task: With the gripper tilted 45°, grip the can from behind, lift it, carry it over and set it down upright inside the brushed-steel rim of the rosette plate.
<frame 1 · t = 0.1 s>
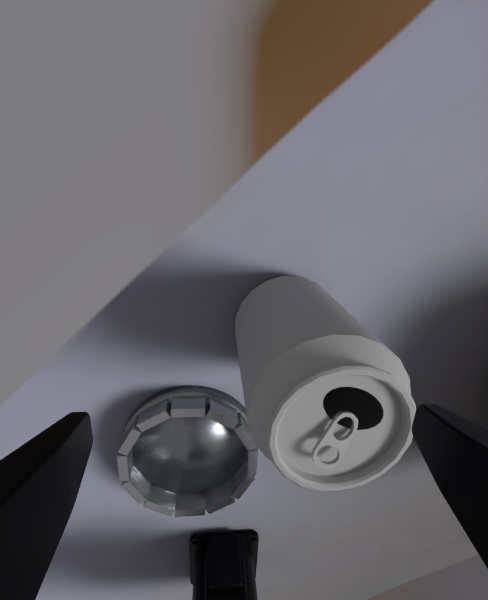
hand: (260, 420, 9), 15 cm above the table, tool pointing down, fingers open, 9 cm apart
can: (282, 319, 24), on the table
rosette plate: (191, 441, 27), on the table
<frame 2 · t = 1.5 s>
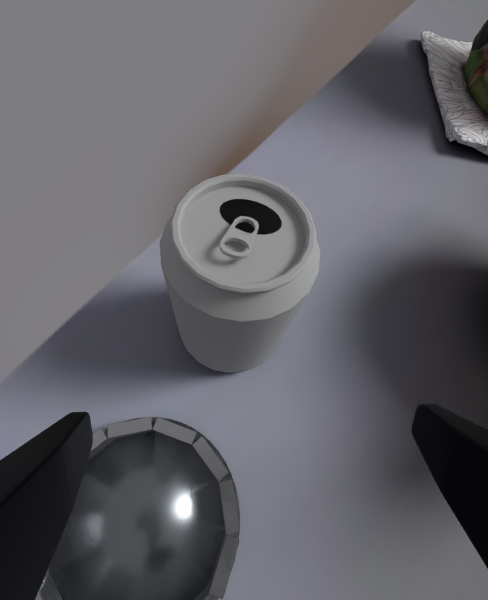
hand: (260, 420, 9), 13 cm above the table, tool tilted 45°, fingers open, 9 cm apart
can: (229, 327, 24), on the table
rosette plate: (143, 520, 18), on the table
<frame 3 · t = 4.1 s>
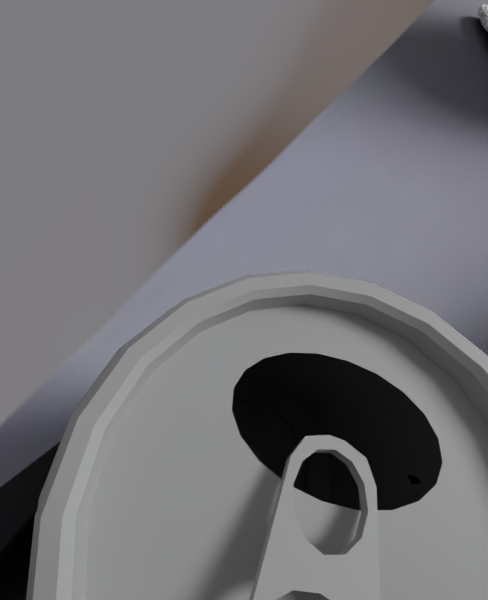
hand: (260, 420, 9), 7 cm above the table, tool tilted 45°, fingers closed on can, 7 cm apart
can: (240, 469, 14), on the table, touching gripper
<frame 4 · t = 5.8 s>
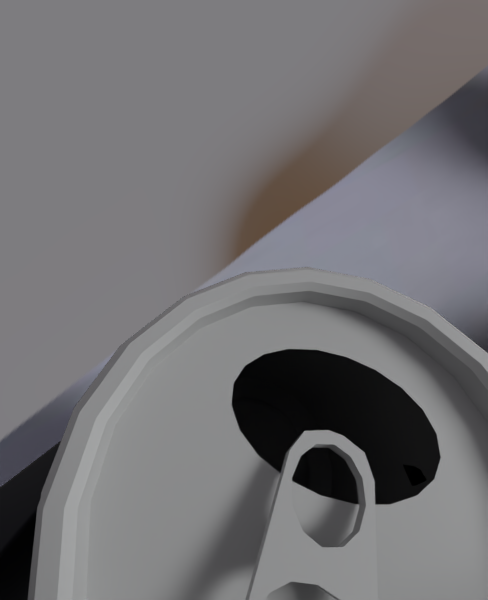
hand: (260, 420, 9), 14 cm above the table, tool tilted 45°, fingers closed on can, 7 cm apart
can: (242, 467, 14), point 7 cm above the table, touching gripper
when the fingers open (9 cm above the table, at t = 7.8 s): can drops 1 cm, resting on rosette plate.
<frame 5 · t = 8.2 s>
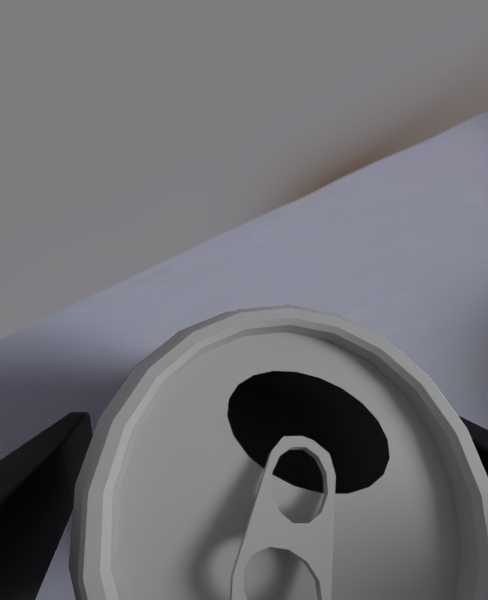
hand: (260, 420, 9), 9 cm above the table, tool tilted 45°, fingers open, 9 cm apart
can: (237, 471, 15), point 1 cm above the table, touching rosette plate
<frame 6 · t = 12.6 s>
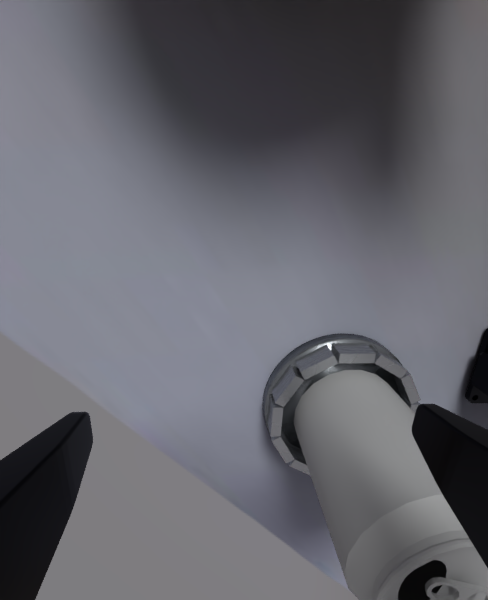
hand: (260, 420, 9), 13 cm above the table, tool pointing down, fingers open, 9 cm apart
can: (339, 405, 24), point 1 cm above the table, touching rosette plate
rosette plate: (333, 398, 25), on the table
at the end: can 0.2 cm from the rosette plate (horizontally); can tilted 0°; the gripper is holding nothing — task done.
